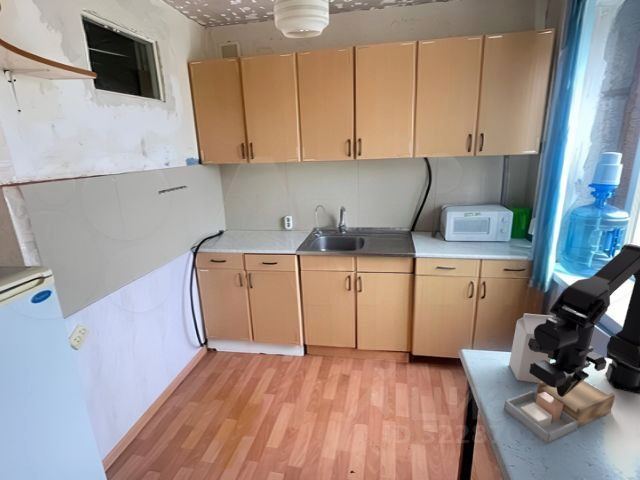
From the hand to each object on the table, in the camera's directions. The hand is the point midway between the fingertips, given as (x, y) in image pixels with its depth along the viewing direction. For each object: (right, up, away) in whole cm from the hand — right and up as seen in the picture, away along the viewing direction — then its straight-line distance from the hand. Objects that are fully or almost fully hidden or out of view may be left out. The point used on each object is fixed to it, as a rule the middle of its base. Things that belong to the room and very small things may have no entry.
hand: (560, 395), depth 81 cm
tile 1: (-8, -3, -3) cm, 8 cm away
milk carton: (+1, -1, +15) cm, 15 cm away
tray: (-6, -5, -1) cm, 8 cm away
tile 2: (-2, -2, 0) cm, 3 cm away
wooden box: (+5, -4, +3) cm, 7 cm away
